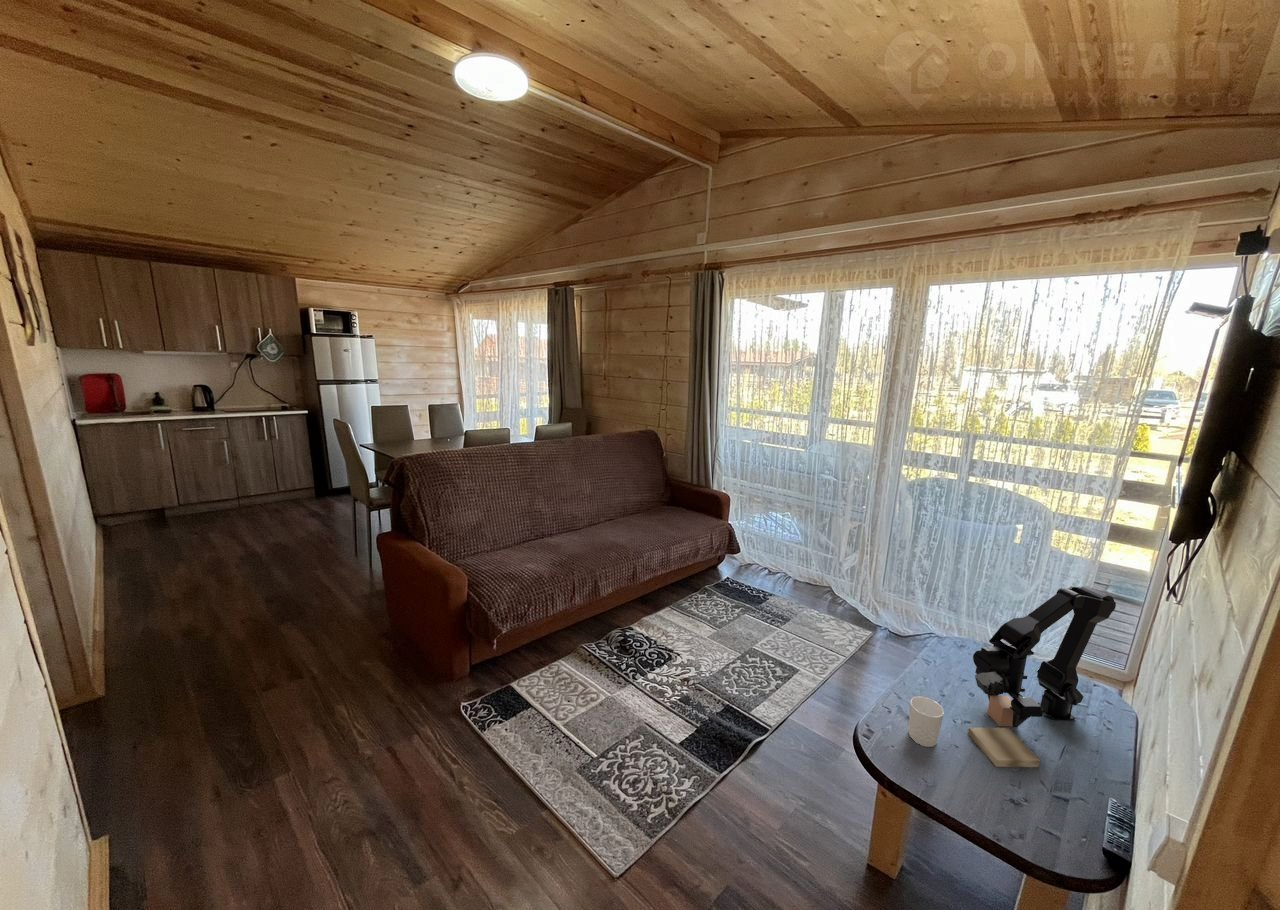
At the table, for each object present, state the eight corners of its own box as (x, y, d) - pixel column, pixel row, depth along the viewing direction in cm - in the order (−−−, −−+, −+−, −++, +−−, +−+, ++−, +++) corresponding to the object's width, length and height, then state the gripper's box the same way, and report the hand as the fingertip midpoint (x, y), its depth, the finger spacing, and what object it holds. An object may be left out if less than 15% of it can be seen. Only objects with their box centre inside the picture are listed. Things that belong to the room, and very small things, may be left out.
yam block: (1004, 713, 142) (1007, 695, 141) (1017, 726, 138) (1020, 708, 136) (987, 713, 142) (990, 695, 141) (999, 726, 138) (1002, 708, 136)
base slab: (1007, 734, 135) (1008, 727, 134) (1038, 767, 124) (1040, 760, 123) (967, 733, 135) (968, 727, 134) (996, 766, 124) (997, 760, 123)
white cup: (937, 732, 135) (941, 701, 133) (940, 753, 128) (945, 720, 126) (905, 723, 138) (909, 693, 136) (907, 743, 131) (911, 711, 129)
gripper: (961, 647, 146) (954, 692, 149) (1007, 689, 127) (998, 740, 131) (998, 647, 146) (990, 692, 149) (1049, 689, 127) (1039, 740, 130)
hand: (1002, 714), depth 140 cm, fingers open, 9 cm apart
